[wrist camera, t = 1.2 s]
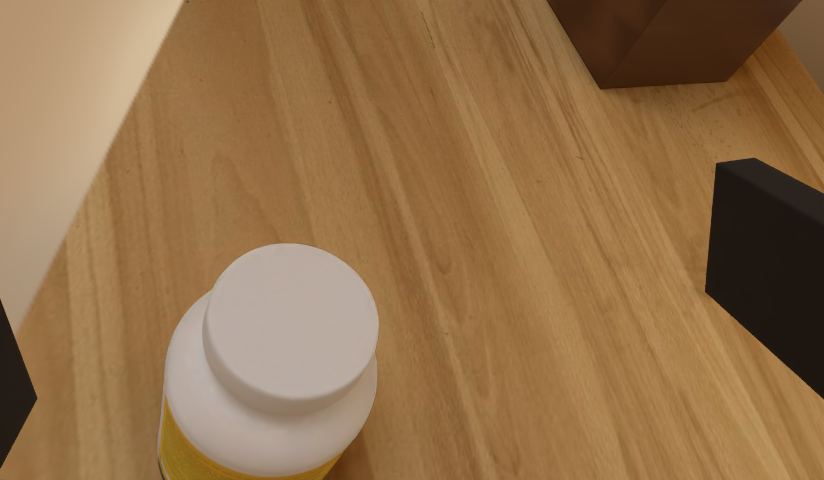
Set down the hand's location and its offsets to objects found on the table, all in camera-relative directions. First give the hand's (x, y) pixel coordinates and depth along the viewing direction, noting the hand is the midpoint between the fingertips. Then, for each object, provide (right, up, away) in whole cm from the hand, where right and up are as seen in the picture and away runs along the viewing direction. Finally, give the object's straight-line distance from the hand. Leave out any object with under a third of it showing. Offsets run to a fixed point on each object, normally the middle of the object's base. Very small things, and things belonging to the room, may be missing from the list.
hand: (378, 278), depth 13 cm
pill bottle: (-6, -8, +15) cm, 18 cm away
